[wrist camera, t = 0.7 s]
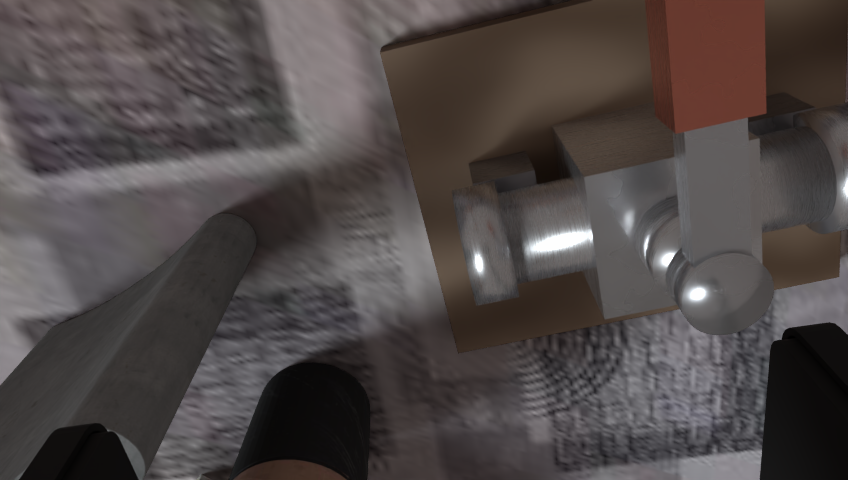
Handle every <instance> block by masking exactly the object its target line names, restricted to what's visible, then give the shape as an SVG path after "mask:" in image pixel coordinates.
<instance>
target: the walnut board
mask: <svg viewBox="0 0 848 480" xmlns="http://www.w3.org/2000/svg"><path fill="white" fill-rule="evenodd" d="M847 32H848V0H765V57H766V96H768V95H772V94H777V93H781V92H785V93H787V94H789V95H791V96H793V97H795V98H797V99H799V100H801V101H804V102H806V103H808V104H810V105H812V106H814V107H816V109H818V108H823V107H827V106H832V105H836V104H841V103H845V91H846V61H847ZM380 54H381V58H382V62H383V66H384V70H385V73H386V77H387V81H388V85H389V89H390V93H391V96H392V100H393V104H394V108H395V112H396V116H397V120H398V123H399V127H400V131H401V135H402V139H403V143H404V146H405V150H406V154H407V158H408V162H409V166H410V170H411V173H412V177H413V181H414V185H415V189H416V193H417V196H418V200H419V204H420V208H421V212H422V216H423V220H424V223H425V227H426V231H427V235H428V239H429V243H430V246H431V250H432V254H433V258H434V262H435V266H436V270H437V273H438V277H439V281H440V285H441V289H442V293H443V297H444V300H445V304H446V308H447V312H448V316H449V320H450V323H451V327H452V331H453V335H454V339H455V343H456V347H457V350H458V353H462V352H467V351H472V350H477V349H482V348H487V347H492V346H497V345H502V344H507V343H512V342H517V341H522V340H527V339H532V338H537V337H542V336H547V335H552V334H557V333H562V332H567V331H572V330H577V329H582V328H587V327H592V326H597V325H602V324H607V323H612V322H617V321H622V320H627V319H632V318H637V317H642V316H647V315H652V314H657V313H662V312H667V311H672V310H677V309H679V307H678V306H677V305H674V306H669V307H664V308H659V309H654V310H649V311H644V312H639V313H634V314H629V315H624V316H619V317H614V318H609V319H604V317H603V315H602V313H601V311H600V309H599V307H598V304H597V302H596V300H595V298H594V296H593V294H592V291H591V289H590V287H589V285H588V283H587V281H586V278H585V276H584V274H583V272H582V271H579V272H574V273H570V274H565V275H560V276H555V277H550V278H546V279H541V280H536V281H531V282H526V283H521V284H517V286H518V292H519V297H517V298H512V299H507V300H503V301H498V302H493V303H488V304H483V305H478V306H477V305H476V302H475V299H474V295H473V291H472V287H471V283H470V279H469V275H468V271H467V266H466V262H465V258H464V253H463V248H462V244H461V239H460V234H459V229H458V224H457V219H456V214H455V209H454V203H453V196H452V190H456V189H460V188H465V187H469V186H473V184H472V179H471V174H470V169H469V164H468V163H472V162H477V161H481V160H485V159H490V158H494V157H499V156H503V155H508V154H512V153H516V152H521V151H526V153H527V155H528V157H529V159H530V162H531V164H532V166H533V168H534V170H535V176H536V182H537V184H541V183H546V182H550V181H555V180H559V179H560V176H559V170H558V164H557V158H556V151H555V145H554V139H553V133H552V126H551V125H555V124H560V123H564V122H568V121H573V120H577V119H581V118H586V117H590V116H595V115H599V114H603V113H608V112H612V111H616V110H621V109H625V108H629V107H634V106H638V105H643V104H647V103H651V102H654V96H653V85H652V74H651V63H650V51H649V40H648V29H647V18H646V7H645V0H571V1H567V2H563V3H559V4H555V5H551V6H547V7H543V8H539V9H535V10H531V11H527V12H522V13H518V14H514V15H510V16H506V17H502V18H498V19H494V20H490V21H486V22H482V23H478V24H474V25H470V26H466V27H462V28H457V29H453V30H449V31H445V32H441V33H437V34H433V35H429V36H425V37H421V38H417V39H413V40H409V41H405V42H401V43H396V44H392V45H388V46H384V47H382V48H381V51H380ZM840 239H841V231H837V232H832V233H827V234H820V233H816V232H814V231H812V230H811V229H810V228H808V227H807V226H806V225H800V226H795V227H790V228H786V229H781V230H776V231H771V232H766V233H762V265H763V266H764V267H765V268H766V269H767V270H768V271H769V273H770V274H771V276H772V279H773V283H774V290H777V289H782V288H787V287H792V286H797V285H801V284H806V283H811V282H816V281H821V280H826V279H831V278H836V277H839V268H840Z"/></svg>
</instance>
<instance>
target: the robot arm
mask: <svg viewBox="0 0 848 480" xmlns="http://www.w3.org/2000/svg"><path fill="white" fill-rule="evenodd" d="M19 480H139V479H138V477H137V475H136V473H135V471H134V469H133V466H132V464H131V462H130V460H129V458H128V456H127V453H126V451H125V449H124V447H123V445H122V443H121V441H120V438H119V437H118V435H117V434H116V433H115V432H113V431H107V429H106V428H105V427H104V426H103V425H102V424H100V423H91V424H84V425H77V426H69V427H62V428H58V429H56V430H54V431H53V432H52V433H51V434H50V436H49V437H48V438H47V440H46V441H45V443H44V444H43V446H42V447H41V449H40V450H39V451H38V453H37V454H36V456H35V457H34V459H33V460H32V462H31V463H30V464H29V466H28V467H27V469H26V470H25V472H24V473H23V475H22V476H21V477H20V479H19ZM760 480H848V335H847V334H846V333H845V332H844V331H843V330H842V329H841V328H840V327H839V326H837V325H836V324H834V323H830V322H829V323H822V324H814V325H807V326H800V327H792V328H788V329H786V330H785V332H784V333H783V336H782V340H777V341H774V342H773V343H772V345H771V350H770V361H769V374H768V386H767V398H766V410H765V422H764V435H763V447H762V459H761V471H760Z"/></svg>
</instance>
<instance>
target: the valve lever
mask: <svg viewBox="0 0 848 480" xmlns="http://www.w3.org/2000/svg"><path fill="white" fill-rule="evenodd" d="M645 7H646V18H647V29H648V40H649V51H650V63H651V74H652V85H653V96H654V107H655V117H656V118H657V119H659V120H660V121H661V122H662V123H663V124H665V125H666V126H667V127H668V128H669V129H670V130H672V134H673V146H674V159H675V171H676V184H677V196H678V209H679V221H680V234H681V246H682V248H681V249H679V250H678V252H677V253H676V254H675V255H674V256H673V258H672V259H671V261H670V263H669V265H668V268H667V271H666V286H667V289H668V291H669V293H670V295H671V297H672V298H673V300H674V301H675V303H676V304H677V306H678V307H679V309H680V310H681V312H682V313H683V315H684V316H685V318H686V319H687V321H688V322H689V323H690V324H691V325H692V326H693V327H694V328H696V329H697V330H699V331H701V332H704V333H707V334H712V335H726V334H732V333H736V332H739V331H741V330H743V329H746V328H747V327H749V326H751V325H752V324H754V323H755V322H756V321H757V320H759V319H760V318H761V317H762V316H763V314H764V313H765V312H766V310H767V309H768V307H769V305H770V304H771V301H772V298H773V294H774V283H773V279H772V276H771V274H770V273H769V271H768V270H767V269H766V268H765V267H764V266H763V265H762V264H761V263H760V261H759V260H758V259H757V258H756V257H755V256H754V255H753V254H752V241H751V207H750V174H749V140H748V117H753V116H757V115H762V114H766V57H765V0H645Z"/></svg>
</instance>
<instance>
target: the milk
mask: <svg viewBox="0 0 848 480" xmlns="http://www.w3.org/2000/svg"><path fill="white" fill-rule="evenodd" d="M197 480H211V479H209V478H207V477H205V476H204V475H202V474H201V475H200V477H199V478H198V479H197Z"/></svg>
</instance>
